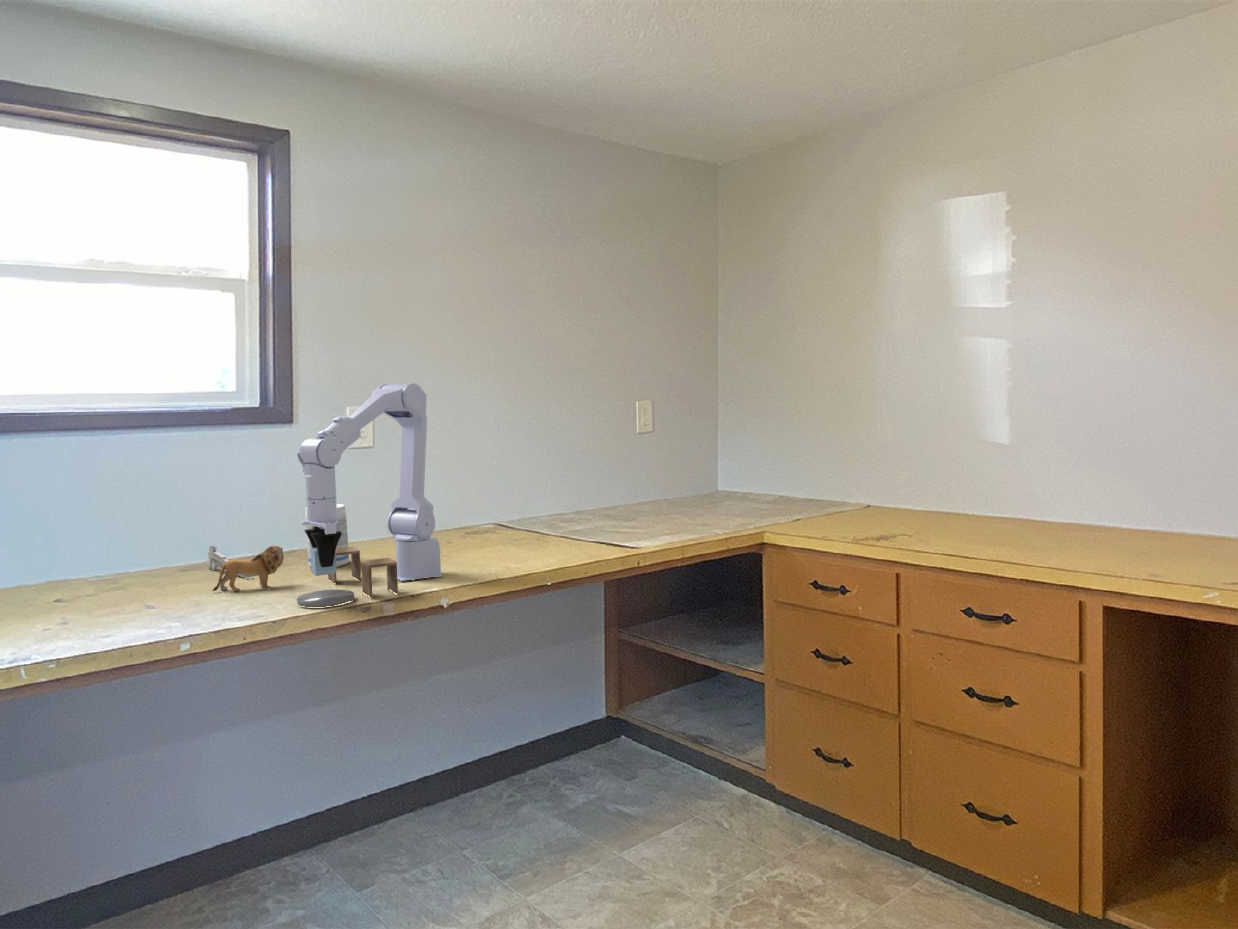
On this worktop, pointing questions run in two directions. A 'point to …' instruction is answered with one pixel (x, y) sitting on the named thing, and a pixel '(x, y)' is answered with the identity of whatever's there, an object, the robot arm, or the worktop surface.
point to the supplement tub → (340, 527)
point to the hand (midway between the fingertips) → (324, 564)
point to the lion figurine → (252, 568)
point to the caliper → (218, 560)
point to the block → (316, 565)
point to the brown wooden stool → (367, 574)
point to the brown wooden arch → (354, 560)
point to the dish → (325, 598)
